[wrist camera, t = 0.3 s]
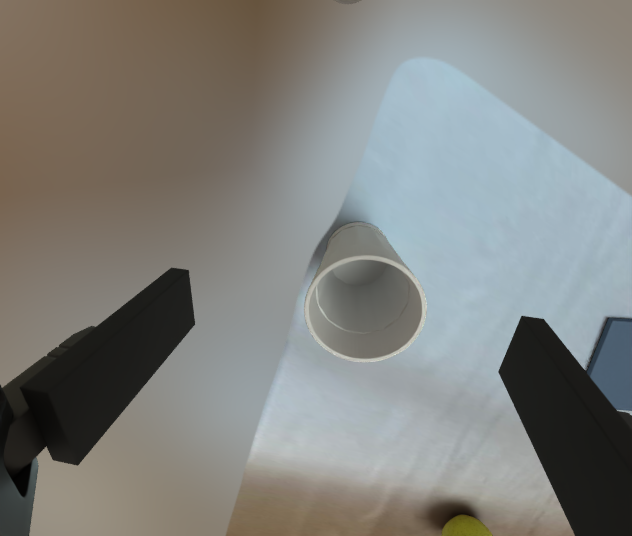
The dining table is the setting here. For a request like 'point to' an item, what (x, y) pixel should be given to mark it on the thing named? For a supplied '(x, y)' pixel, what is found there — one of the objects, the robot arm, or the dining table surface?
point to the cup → (364, 297)
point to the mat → (614, 363)
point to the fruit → (465, 527)
